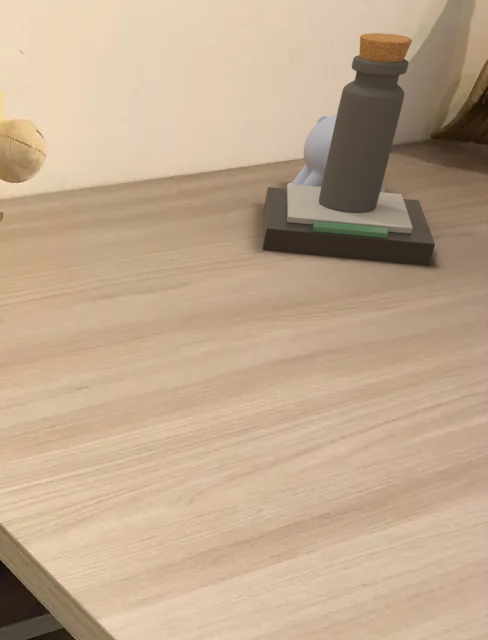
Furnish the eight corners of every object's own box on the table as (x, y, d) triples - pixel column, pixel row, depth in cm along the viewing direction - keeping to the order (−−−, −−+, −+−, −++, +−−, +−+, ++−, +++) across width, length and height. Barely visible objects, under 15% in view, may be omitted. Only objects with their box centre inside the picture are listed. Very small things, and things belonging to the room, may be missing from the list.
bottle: (342, 215, 104) (382, 43, 94) (306, 199, 108) (341, 33, 98) (388, 209, 105) (432, 41, 96) (351, 194, 110) (390, 30, 100)
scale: (412, 223, 112) (420, 194, 110) (427, 269, 101) (437, 237, 99) (263, 209, 114) (268, 181, 113) (261, 253, 103) (267, 221, 101)
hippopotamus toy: (369, 179, 125) (391, 92, 119) (394, 217, 114) (419, 122, 108) (280, 174, 126) (297, 87, 120) (295, 211, 114) (314, 116, 108)
